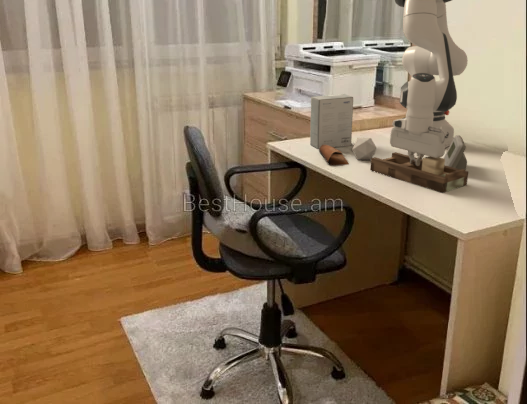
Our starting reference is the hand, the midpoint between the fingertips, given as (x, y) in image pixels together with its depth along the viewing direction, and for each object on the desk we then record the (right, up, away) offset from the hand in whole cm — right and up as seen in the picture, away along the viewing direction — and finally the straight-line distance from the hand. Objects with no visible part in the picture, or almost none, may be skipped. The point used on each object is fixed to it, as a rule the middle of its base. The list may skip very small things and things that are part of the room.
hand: (414, 164), depth 194 cm
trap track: (+1, -4, +1) cm, 4 cm away
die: (-13, +4, +22) cm, 26 cm away
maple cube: (+5, -3, -5) cm, 7 cm away
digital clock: (+16, -1, +11) cm, 20 cm away
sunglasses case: (-24, +3, +23) cm, 34 cm away
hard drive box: (-24, +10, +41) cm, 49 cm away
